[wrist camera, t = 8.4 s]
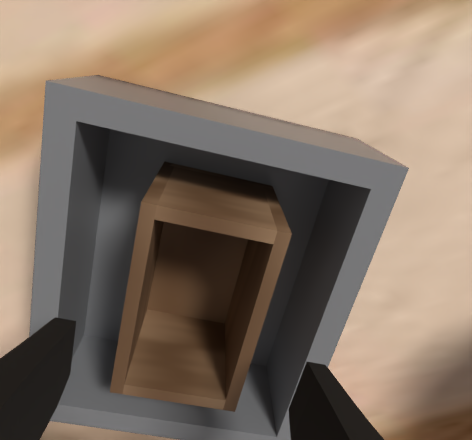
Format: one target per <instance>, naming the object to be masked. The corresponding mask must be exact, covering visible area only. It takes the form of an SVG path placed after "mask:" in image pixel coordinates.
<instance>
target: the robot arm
mask: <svg viewBox="0 0 472 440" xmlns="http://www.w3.org/2000/svg"><path fill="white" fill-rule="evenodd" d="M75 328H76V321H74V320H68V319H62V318H57V317H55V318H53V319H52V320H50V321H49V322H48V323H47V324H45V325H44V326H43V327H42V328H40V329H39V330H38V331H36V332H35V333H34V334H33V335H31V336H30V337H29V338H27V339H26V340H25V341H24V342H22V343H21V344H20V345H18V346H17V347H16V348H14V349H13V350H11V351H10V352H9V353H7V354H6V355H5V356H3V357H2V358H0V440H39V439H40V438H41V436H42V434H43V432H44V430H45V428H46V427H47V425H48V423H49V421H50V419H51V417H52V415H53V414H54V412H55V410H56V408H57V406H58V403H59V401H60V398H61V396H62V394H63V391H64V389H65V386H66V384H67V381H68V379H69V376H70V372H71V363H72V355H73V346H74V337H75ZM289 423H290V436H291V440H384V439H383V438H382V437H381V435H380V434H379V433H378V432H377V431H376V430H375V428H374V427H373V426H372V425H371V423H370V422H369V421H368V420H367V419H366V417H365V416H364V415H363V414H362V412H361V411H360V410H359V408H358V407H357V406H356V405H355V403H354V402H353V401H352V399H351V398H350V397H349V395H348V394H347V393H346V391H345V390H344V389H343V387H342V386H341V385H340V383H339V382H338V381H337V379H336V378H335V377H334V375H333V374H332V373H331V372H330V370H329V369H328V368H327V366H326V365H324V364H318V363H313V362H306V365H305V368H304V370H303V373H302V375H301V378H300V381H299V383H298V386H297V389H296V391H295V394H294V396H293V399H292V402H291V404H290V407H289Z"/></svg>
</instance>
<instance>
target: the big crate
mask: <svg viewBox="0 0 472 440" xmlns="http://www.w3.org/2000/svg"><path fill="white" fill-rule="evenodd" d="M164 161H165V162H169V163H174V164H178V165H182V166H187V167H191V168H196V169H200V170H204V171H209V172H213V173H218V174H222V175H226V176H231V177H235V178H240V179H244V180H248V181H253V182H257V183H262V184H266V185H270V186H273V189H274V191H275V194H276V196H277V198H278V201H279V203H280V206H281V208H282V211H283V213H284V216H285V218H286V221H287V223H288V226H289V228H290V230H291V233H292V236H291V239H290V242H289V245H288V248H287V251H286V254H285V257H284V261H283V264H282V267H281V270H280V273H279V276H278V279H277V282H276V286H275V289H274V292H273V295H272V298H271V301H270V304H269V307H268V311H267V314H266V317H265V320H264V323H263V326H262V329H261V332H260V335H259V339H258V342H257V345H256V348H255V351H254V354H253V357H252V360H251V364H250V367H249V370H248V373H247V376H246V379H245V382H244V385H243V389H242V392H241V395H240V398H239V401H238V404H237V407H236V410H235V412H233V411H226V410H220V409H214V408H207V407H201V406H194V405H188V404H182V403H175V402H169V401H162V400H156V399H150V398H143V397H137V396H130V395H124V394H117V393H111V392H110V387H111V381H112V375H113V369H114V363H115V357H116V351H117V345H118V339H119V333H120V327H121V321H122V315H123V309H124V303H125V297H126V291H127V285H128V278H129V272H130V266H131V260H132V254H133V248H134V242H135V236H136V230H137V224H138V218H139V212H140V206H141V201H142V200H143V198H144V196H145V194H146V193H147V191H148V189H149V187H150V186H151V184H152V182H153V180H154V179H155V177H156V175H157V174H158V172H159V170H160V168H161V167H162V165H163V163H164ZM408 169H409V168H408V167H406V166H404V165H403V164H401V163H399V162H397V161H396V160H394V159H392V158H390V157H389V156H387V155H385V154H383V153H382V152H380V151H378V150H376V149H375V148H373V147H371V146H369V145H368V144H366V143H364V142H362V141H360V140H359V139H356V138H352V137H348V136H344V135H340V134H336V133H332V132H328V131H324V130H320V129H316V128H311V127H307V126H303V125H299V124H295V123H291V122H287V121H283V120H279V119H275V118H271V117H267V116H263V115H259V114H255V113H250V112H246V111H242V110H238V109H234V108H230V107H226V106H222V105H218V104H214V103H210V102H206V101H202V100H198V99H194V98H189V97H185V96H181V95H177V94H173V93H169V92H165V91H161V90H157V89H153V88H149V87H145V86H141V85H137V84H133V83H128V82H124V81H120V80H116V79H112V78H108V77H104V76H100V75H94V76H84V77H75V78H66V79H57V80H48V81H46V87H45V103H44V118H43V134H42V149H41V165H40V180H39V196H38V211H37V226H36V242H35V257H34V273H33V288H32V304H31V319H30V335H29V337H30V336H31V335H33V334H34V333H35V332H36V331H38V330H39V329H40V328H42V327H43V326H44V325H45V324H47V323H48V322H49V321H50V320H52V319H53V318H55V317H57V318H62V319H68V320H74V321H76V328H75V337H74V346H73V355H72V363H71V372H70V376H69V379H68V381H67V384H66V386H65V389H64V391H63V394H62V396H61V398H60V401H59V403H58V406H57V408H56V410H55V412H54V414H53V415H52V417H51V419H50V421H55V422H61V423H68V424H75V425H82V426H89V427H96V428H103V429H110V430H117V431H124V432H131V433H138V434H145V435H152V436H159V437H166V438H173V439H180V440H291V436H290V423H289V407H290V404H291V402H292V399H293V396H294V394H295V391H296V389H297V386H298V383H299V381H300V378H301V375H302V373H303V370H304V368H305V365H306V362H313V363H318V364H324V365H326V366H327V368H328V365H329V363H330V361H331V358H332V356H333V353H334V351H335V348H336V346H337V343H338V341H339V338H340V336H341V334H342V331H343V329H344V326H345V324H346V321H347V319H348V316H349V314H350V311H351V309H352V307H353V304H354V302H355V299H356V297H357V294H358V292H359V289H360V287H361V284H362V282H363V280H364V277H365V275H366V272H367V270H368V267H369V265H370V262H371V260H372V257H373V255H374V253H375V250H376V248H377V245H378V243H379V240H380V238H381V235H382V233H383V230H384V228H385V226H386V223H387V221H388V218H389V216H390V213H391V211H392V208H393V206H394V203H395V201H396V199H397V196H398V194H399V191H400V189H401V186H402V184H403V181H404V179H405V176H406V174H407V172H408Z"/></svg>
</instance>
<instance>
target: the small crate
mask: <svg viewBox="0 0 472 440" xmlns="http://www.w3.org/2000/svg"><path fill="white" fill-rule="evenodd" d="M291 236H292V233H291V230H290V228H289V226H288V223H287V221H286V218H285V216H284V213H283V211H282V208H281V206H280V203H279V201H278V198H277V196H276V194H275V191H274V189H273V186H270V185H266V184H262V183H257V182H253V181H248V180H244V179H240V178H235V177H231V176H226V175H222V174H218V173H213V172H209V171H204V170H200V169H196V168H191V167H187V166H182V165H178V164H174V163H169V162H165V161H164V163H163V165H162V167H161V168H160V170H159V172H158V174H157V175H156V177H155V179H154V180H153V182H152V184H151V186H150V187H149V189H148V191H147V193H146V194H145V196H144V198H143V200H142V201H141V206H140V212H139V218H138V224H137V230H136V236H135V242H134V248H133V254H132V260H131V266H130V272H129V278H128V285H127V291H126V297H125V303H124V309H123V315H122V321H121V327H120V333H119V339H118V345H117V351H116V357H115V363H114V369H113V375H112V381H111V387H110V392H111V393H117V394H124V395H130V396H137V397H143V398H150V399H156V400H162V401H169V402H175V403H182V404H188V405H194V406H201V407H207V408H214V409H220V410H226V411H233V412H235V410H236V407H237V404H238V401H239V398H240V395H241V392H242V389H243V385H244V382H245V379H246V376H247V373H248V370H249V367H250V364H251V360H252V357H253V354H254V351H255V348H256V345H257V342H258V339H259V335H260V332H261V329H262V326H263V323H264V320H265V317H266V314H267V311H268V307H269V304H270V301H271V298H272V295H273V292H274V289H275V286H276V282H277V279H278V276H279V273H280V270H281V267H282V264H283V261H284V257H285V254H286V251H287V248H288V245H289V242H290V239H291Z"/></svg>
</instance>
